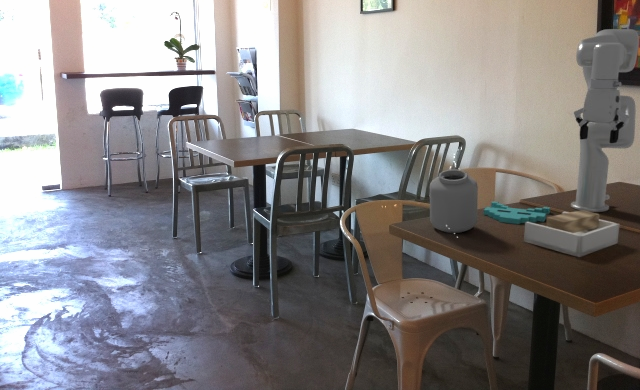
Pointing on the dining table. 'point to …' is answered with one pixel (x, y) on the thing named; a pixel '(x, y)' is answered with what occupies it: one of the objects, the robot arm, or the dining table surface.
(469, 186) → the jar
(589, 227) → the shelf board
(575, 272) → the dining table surface
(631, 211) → the dining table surface
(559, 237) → the carcass
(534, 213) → the alien figure
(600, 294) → the dining table surface
